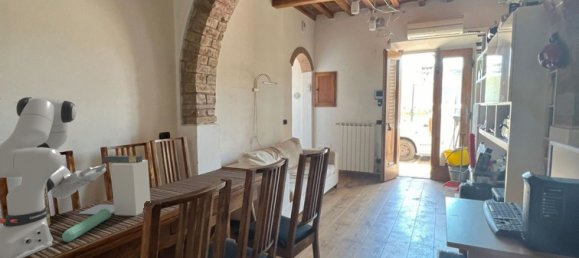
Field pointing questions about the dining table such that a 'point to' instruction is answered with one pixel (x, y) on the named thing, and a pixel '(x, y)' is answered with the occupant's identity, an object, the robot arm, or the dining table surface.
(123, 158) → the strut
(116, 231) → the dining table surface
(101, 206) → the mat
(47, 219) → the paper tube
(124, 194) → the pedestal
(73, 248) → the dining table surface
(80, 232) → the mint green rounded rod
